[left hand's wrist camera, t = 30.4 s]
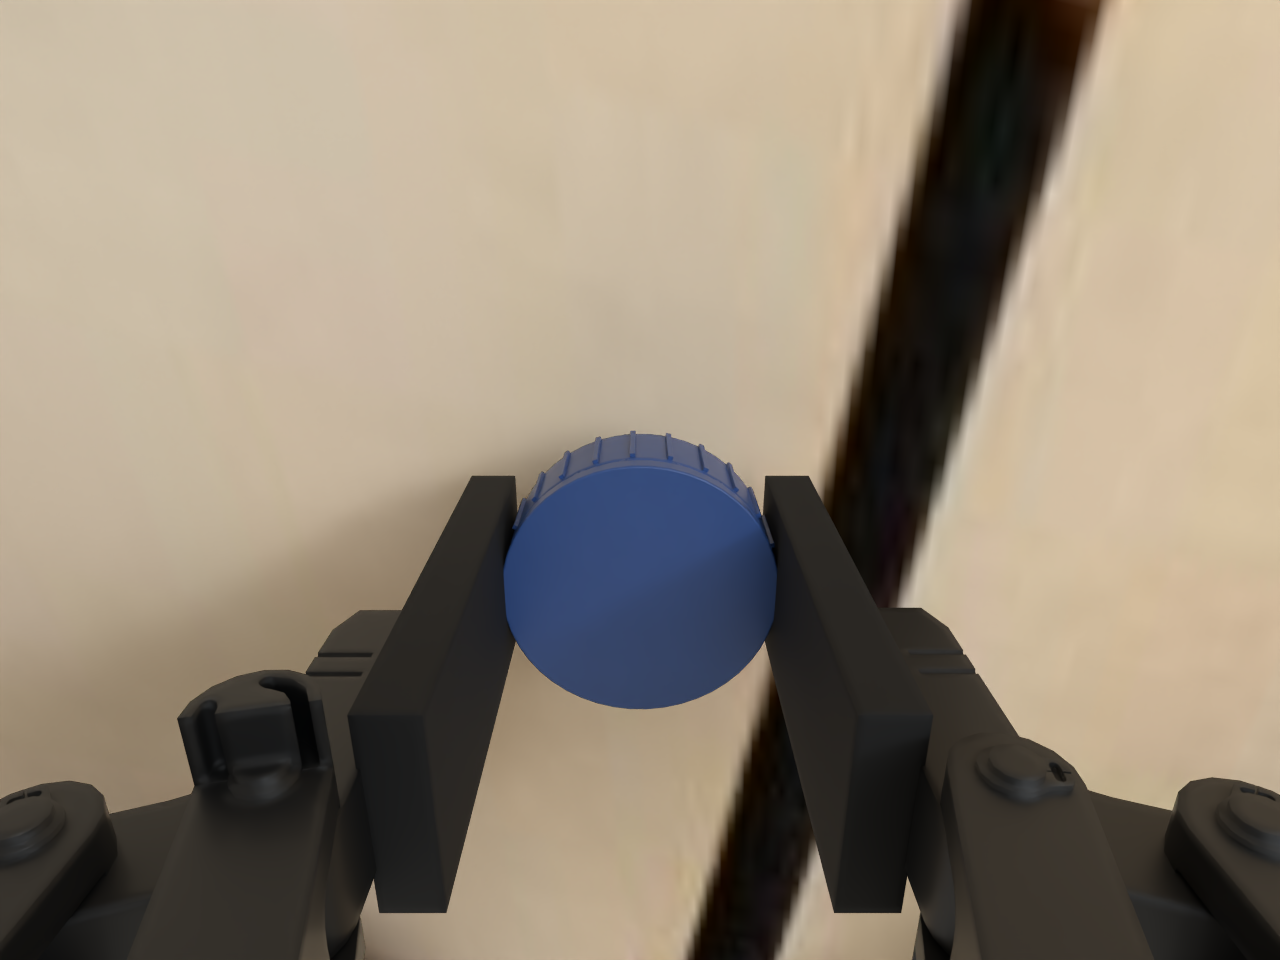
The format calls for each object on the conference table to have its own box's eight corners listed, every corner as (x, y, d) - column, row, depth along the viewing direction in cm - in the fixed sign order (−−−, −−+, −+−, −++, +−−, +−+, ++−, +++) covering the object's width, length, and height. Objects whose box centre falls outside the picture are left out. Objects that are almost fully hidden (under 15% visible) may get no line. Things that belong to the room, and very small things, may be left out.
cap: (585, 691, 16) (578, 747, 14) (466, 495, 14) (445, 535, 13) (805, 602, 15) (823, 651, 13) (705, 385, 13) (712, 415, 12)
